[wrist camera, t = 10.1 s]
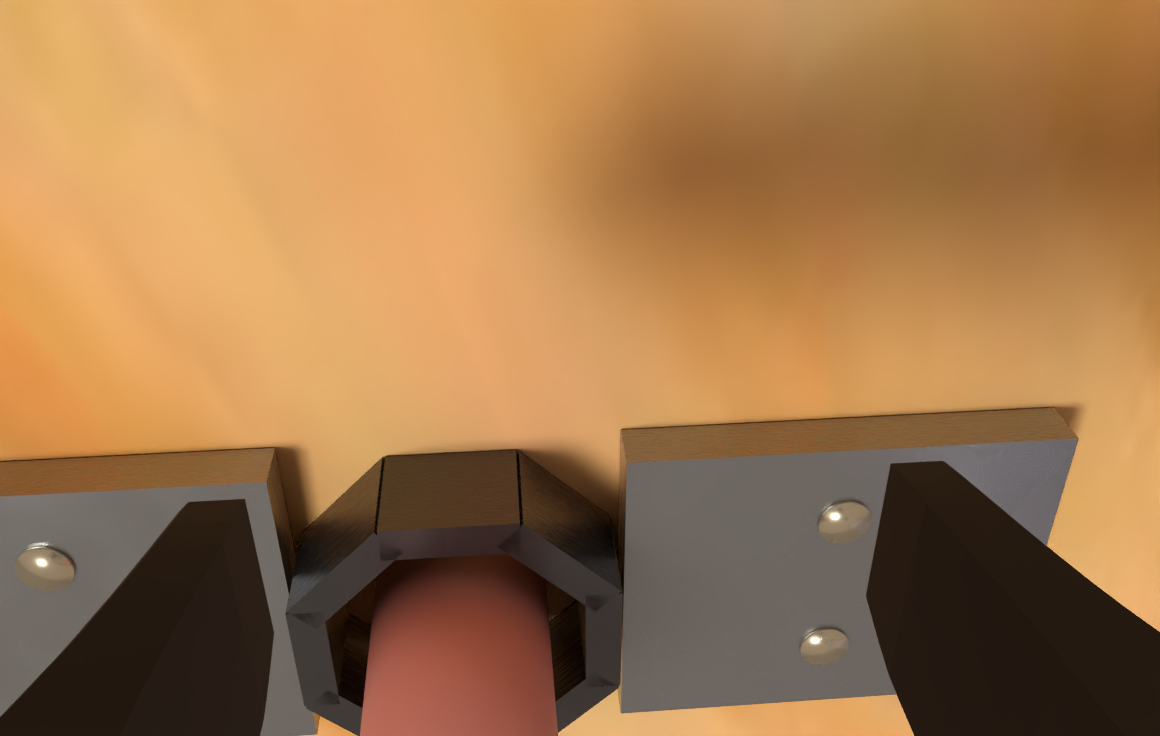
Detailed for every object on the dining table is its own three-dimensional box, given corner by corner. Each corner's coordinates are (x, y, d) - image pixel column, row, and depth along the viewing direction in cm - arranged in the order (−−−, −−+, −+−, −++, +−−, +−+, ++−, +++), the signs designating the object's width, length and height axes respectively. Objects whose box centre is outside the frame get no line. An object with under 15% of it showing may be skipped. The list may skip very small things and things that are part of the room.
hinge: (986, 651, 30) (1025, 727, 27) (-79, 723, 28) (-125, 810, 26) (1054, 407, 25) (1107, 475, 23) (-203, 472, 23) (-270, 552, 21)
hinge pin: (546, 625, 28) (570, 933, 21) (386, 635, 27) (358, 951, 21) (542, 502, 26) (567, 802, 19) (368, 512, 25) (331, 820, 19)
